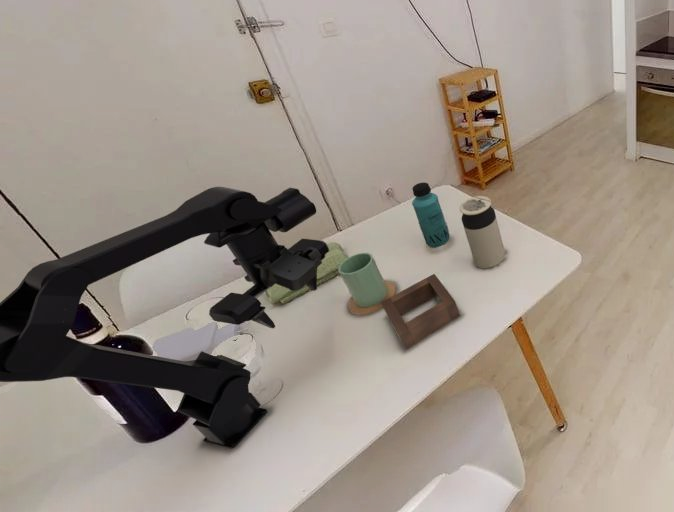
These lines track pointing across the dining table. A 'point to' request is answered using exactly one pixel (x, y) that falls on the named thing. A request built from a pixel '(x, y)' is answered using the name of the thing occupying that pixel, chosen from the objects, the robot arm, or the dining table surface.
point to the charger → (195, 341)
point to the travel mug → (482, 231)
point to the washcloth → (323, 274)
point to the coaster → (368, 310)
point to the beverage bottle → (430, 216)
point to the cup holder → (425, 321)
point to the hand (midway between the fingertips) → (294, 307)
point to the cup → (363, 279)
